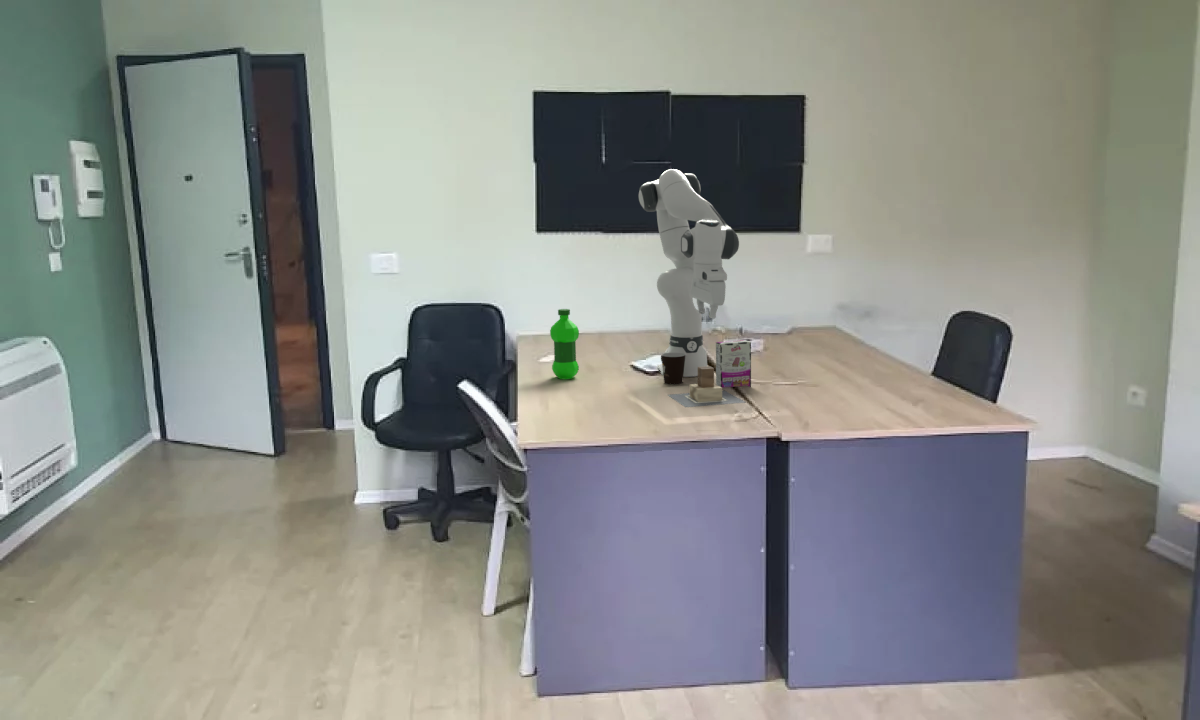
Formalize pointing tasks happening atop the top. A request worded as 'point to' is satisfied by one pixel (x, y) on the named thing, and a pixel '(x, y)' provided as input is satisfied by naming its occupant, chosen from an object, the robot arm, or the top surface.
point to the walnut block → (705, 376)
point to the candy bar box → (733, 363)
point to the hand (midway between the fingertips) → (706, 315)
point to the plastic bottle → (564, 346)
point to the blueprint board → (689, 402)
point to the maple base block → (705, 393)
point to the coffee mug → (673, 367)
